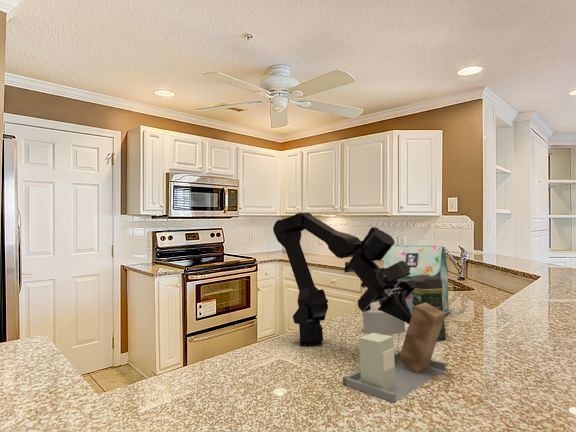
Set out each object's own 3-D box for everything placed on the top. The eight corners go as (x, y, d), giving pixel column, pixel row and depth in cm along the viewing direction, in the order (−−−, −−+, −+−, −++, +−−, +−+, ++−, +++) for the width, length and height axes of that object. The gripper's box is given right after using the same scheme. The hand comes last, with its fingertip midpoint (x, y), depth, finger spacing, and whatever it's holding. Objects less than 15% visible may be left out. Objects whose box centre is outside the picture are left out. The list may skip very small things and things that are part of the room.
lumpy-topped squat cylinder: (409, 332, 115) (407, 304, 116) (374, 337, 111) (372, 308, 112) (390, 324, 125) (388, 299, 126) (357, 329, 121) (355, 303, 121)
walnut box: (397, 359, 83) (413, 305, 80) (408, 354, 87) (424, 301, 84) (417, 373, 80) (435, 316, 77) (428, 367, 83) (446, 312, 80)
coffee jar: (451, 340, 105) (446, 276, 106) (425, 342, 103) (421, 277, 104) (432, 331, 114) (428, 273, 115) (409, 333, 113) (405, 274, 114)
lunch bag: (382, 315, 140) (378, 245, 142) (395, 307, 154) (392, 244, 155) (444, 320, 127) (439, 244, 129) (453, 311, 141) (449, 242, 142)
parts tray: (343, 387, 75) (342, 377, 76) (399, 360, 90) (398, 351, 90) (393, 405, 67) (393, 394, 67) (446, 372, 81) (446, 363, 81)
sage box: (361, 387, 74) (358, 337, 74) (375, 379, 77) (372, 332, 78) (383, 394, 70) (380, 342, 71) (397, 386, 73) (394, 337, 74)
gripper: (365, 253, 82) (413, 307, 73) (407, 248, 95) (452, 294, 86) (340, 285, 87) (382, 340, 79) (383, 277, 100) (423, 323, 91)
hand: (412, 323), depth 83 cm, fingers closed
